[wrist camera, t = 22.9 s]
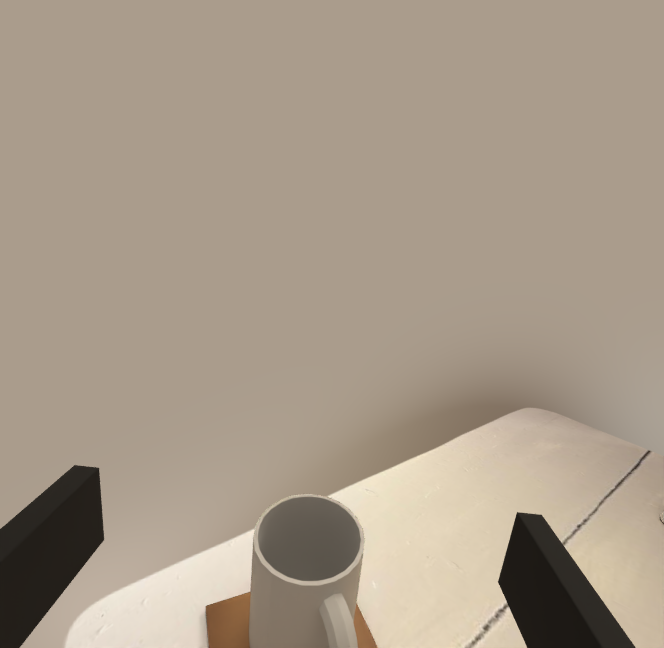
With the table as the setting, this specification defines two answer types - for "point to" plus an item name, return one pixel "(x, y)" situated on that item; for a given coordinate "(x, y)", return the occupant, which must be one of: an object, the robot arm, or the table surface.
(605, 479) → the table surface
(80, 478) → the robot arm
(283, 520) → the cup
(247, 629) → the cork pad
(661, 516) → the tablet stand
